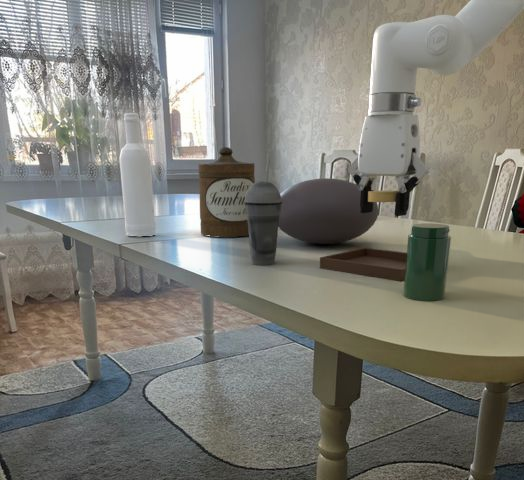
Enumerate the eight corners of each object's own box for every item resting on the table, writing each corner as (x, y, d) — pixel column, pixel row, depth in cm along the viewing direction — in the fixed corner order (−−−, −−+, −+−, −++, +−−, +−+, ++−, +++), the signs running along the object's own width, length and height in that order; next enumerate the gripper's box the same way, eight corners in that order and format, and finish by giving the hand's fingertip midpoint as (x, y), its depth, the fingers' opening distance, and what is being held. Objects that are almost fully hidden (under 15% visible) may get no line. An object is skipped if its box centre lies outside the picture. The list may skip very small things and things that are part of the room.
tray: (441, 267, 102) (442, 257, 101) (401, 281, 92) (402, 269, 91) (363, 257, 113) (364, 247, 112) (319, 267, 103) (319, 257, 102)
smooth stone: (377, 253, 117) (382, 181, 112) (263, 250, 121) (263, 181, 116) (375, 236, 140) (379, 176, 135) (280, 234, 144) (280, 176, 139)
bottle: (122, 237, 141) (110, 112, 131) (130, 233, 149) (119, 114, 139) (152, 237, 141) (143, 112, 131) (159, 233, 149) (150, 114, 138)
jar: (450, 295, 83) (458, 224, 79) (434, 303, 78) (442, 229, 75) (413, 289, 86) (419, 222, 83) (396, 296, 82) (402, 226, 78)
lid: (381, 200, 103) (381, 190, 102) (411, 200, 99) (411, 190, 98) (360, 201, 99) (361, 191, 98) (391, 202, 94) (391, 191, 94)
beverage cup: (252, 258, 112) (251, 156, 105) (286, 260, 110) (287, 155, 103) (239, 265, 105) (237, 156, 99) (275, 267, 103) (275, 156, 96)
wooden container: (211, 239, 137) (207, 147, 130) (194, 232, 150) (189, 147, 143) (264, 235, 143) (264, 146, 135) (243, 229, 156) (242, 147, 148)
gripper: (449, 105, 90) (436, 216, 96) (360, 110, 101) (354, 209, 107) (427, 102, 85) (416, 219, 91) (336, 108, 96) (332, 212, 102)
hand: (383, 213), depth 99 cm, fingers closed on lid, 6 cm apart
